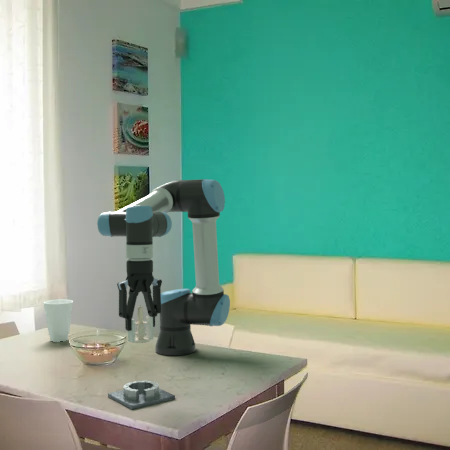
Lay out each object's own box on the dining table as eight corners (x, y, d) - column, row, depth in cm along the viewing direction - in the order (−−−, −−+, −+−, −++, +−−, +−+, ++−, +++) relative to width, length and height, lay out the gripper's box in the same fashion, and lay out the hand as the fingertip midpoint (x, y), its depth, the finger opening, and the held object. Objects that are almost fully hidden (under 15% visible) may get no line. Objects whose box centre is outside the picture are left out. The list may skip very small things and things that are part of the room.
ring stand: (108, 396, 174) (107, 384, 174) (149, 387, 183) (149, 375, 183) (131, 409, 163) (131, 396, 163) (175, 398, 172) (174, 386, 172)
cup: (38, 343, 242) (38, 303, 242) (52, 336, 254) (51, 299, 254) (66, 343, 241) (65, 304, 240) (78, 337, 252) (77, 299, 252)
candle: (128, 342, 171) (127, 305, 170) (137, 338, 176) (136, 303, 175) (144, 343, 169) (144, 306, 169) (153, 339, 174) (152, 304, 173)
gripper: (117, 262, 163) (118, 347, 164) (173, 258, 174) (174, 337, 175) (104, 260, 169) (105, 342, 170) (159, 256, 180) (160, 333, 181)
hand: (140, 340), depth 172 cm, fingers closed on candle, 5 cm apart
